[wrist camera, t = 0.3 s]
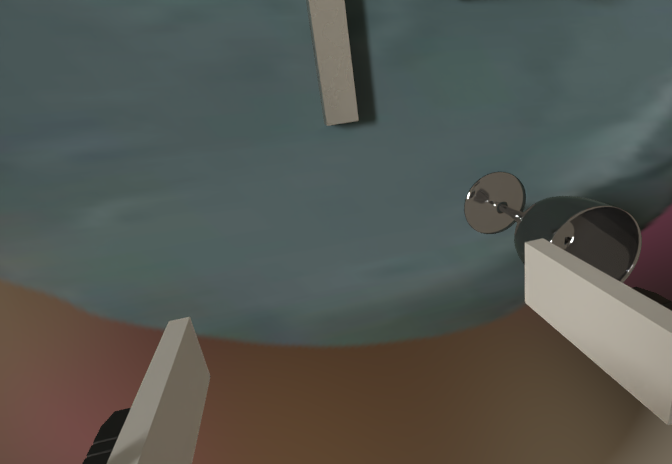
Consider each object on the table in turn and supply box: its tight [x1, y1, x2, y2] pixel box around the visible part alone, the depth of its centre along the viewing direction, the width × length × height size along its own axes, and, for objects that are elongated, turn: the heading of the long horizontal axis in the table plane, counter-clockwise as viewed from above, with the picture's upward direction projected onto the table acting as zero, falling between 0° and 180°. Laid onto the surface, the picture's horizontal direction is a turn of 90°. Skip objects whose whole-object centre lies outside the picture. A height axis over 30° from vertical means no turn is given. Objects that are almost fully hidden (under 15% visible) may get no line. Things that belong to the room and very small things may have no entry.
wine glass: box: [464, 172, 642, 283], centre depth 38 cm, size 8×8×15 cm
